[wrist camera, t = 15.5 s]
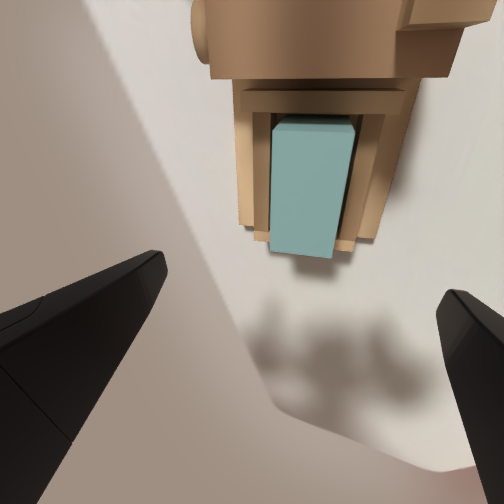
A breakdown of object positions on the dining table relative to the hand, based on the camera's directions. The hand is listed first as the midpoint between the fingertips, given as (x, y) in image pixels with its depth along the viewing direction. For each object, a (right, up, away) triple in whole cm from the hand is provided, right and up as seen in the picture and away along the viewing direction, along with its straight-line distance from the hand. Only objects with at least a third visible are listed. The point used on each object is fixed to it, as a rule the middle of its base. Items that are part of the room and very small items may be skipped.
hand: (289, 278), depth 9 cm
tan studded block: (+3, +12, +5) cm, 13 cm away
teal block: (+3, +6, +9) cm, 11 cm away
